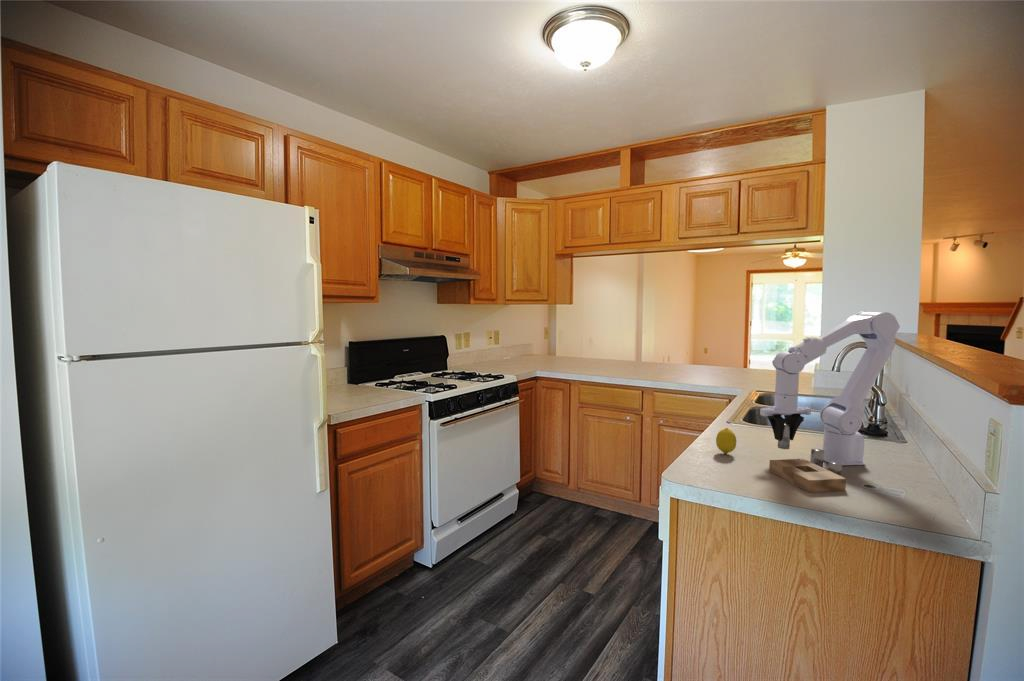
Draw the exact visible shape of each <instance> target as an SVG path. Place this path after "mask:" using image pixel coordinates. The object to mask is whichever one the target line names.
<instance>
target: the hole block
mask: <svg viewBox="0 0 1024 681" xmlns="http://www.w3.org/2000/svg"><path fill="white" fill-rule="evenodd" d="M768 467H769V469H768V471H769V470H770V471H772V472H773V473H772V472H771V473H772V474H774V473H775V474H774V475H776V474H777V476H778V475H779V476H780V478H781V477H782V478H781V479H783V478H784V479H783V480H785V481H787V482H789V483H790V482H791V483H790V484H792V483H793V485H795V487H798V488H799V487H800V489H801V488H802V489H801V490H803V491H805V492H806V493H820V492H824V491H825V492H841V491H846V488H847V486H846V485H847V477H844V476H842V475H841V476H840V475H837V474H835V473H833V472H831V471H829V470H827V469H828V468H827V469H826V468H824V467H823V468H822V467H820V466H818V465H816V464H814V463H811V462H810V460H807V459H804V458H792V459H785V458H784V459H769V466H768ZM770 471H769V472H770ZM779 476H778V477H779Z"/></svg>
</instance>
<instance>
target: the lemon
mask: <svg viewBox="0 0 1024 681" xmlns="http://www.w3.org/2000/svg"><path fill="white" fill-rule="evenodd" d="M736 436H737V435H736V434H735V432H734V431H733V430H731V429H729V428H728V427H726V428H723V429H720V430H719V431H718V433H717V435H716V439H715V443H716V447H717V449H718V450H719V451H720V452H722V453H723V454H724V455H728V454H729V453H731V452H733V451H734V450H735V448H736V446H737V437H736Z"/></svg>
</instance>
